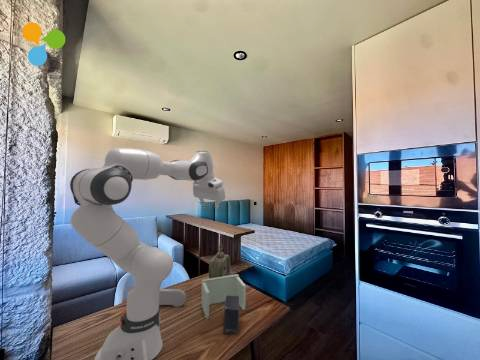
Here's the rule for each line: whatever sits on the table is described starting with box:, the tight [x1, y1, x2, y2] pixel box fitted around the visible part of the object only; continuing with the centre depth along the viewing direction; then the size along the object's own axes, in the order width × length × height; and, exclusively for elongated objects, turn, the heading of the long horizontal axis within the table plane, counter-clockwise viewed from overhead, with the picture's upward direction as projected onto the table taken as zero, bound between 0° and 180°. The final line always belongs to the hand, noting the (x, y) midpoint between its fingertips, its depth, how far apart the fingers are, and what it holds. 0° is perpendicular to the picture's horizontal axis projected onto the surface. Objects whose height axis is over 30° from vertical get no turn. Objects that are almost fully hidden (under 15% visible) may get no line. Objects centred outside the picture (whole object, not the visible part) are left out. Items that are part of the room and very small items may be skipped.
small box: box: [223, 296, 240, 335], centre depth 91 cm, size 11×6×10 cm, turn 179°
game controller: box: [159, 288, 187, 308], centre depth 104 cm, size 20×2×8 cm, turn 90°
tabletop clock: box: [208, 243, 231, 279], centre depth 126 cm, size 14×9×25 cm, turn 164°
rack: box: [201, 274, 247, 319], centre depth 104 cm, size 20×12×13 cm, turn 111°
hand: (210, 206), depth 109 cm, fingers open, 8 cm apart
